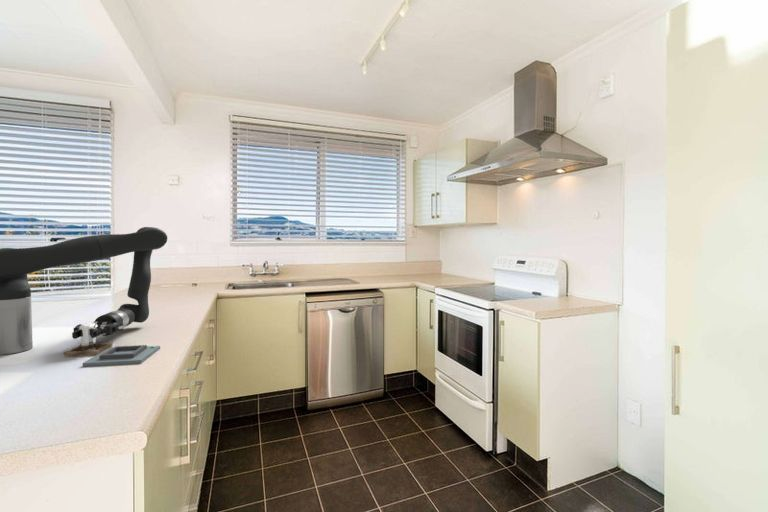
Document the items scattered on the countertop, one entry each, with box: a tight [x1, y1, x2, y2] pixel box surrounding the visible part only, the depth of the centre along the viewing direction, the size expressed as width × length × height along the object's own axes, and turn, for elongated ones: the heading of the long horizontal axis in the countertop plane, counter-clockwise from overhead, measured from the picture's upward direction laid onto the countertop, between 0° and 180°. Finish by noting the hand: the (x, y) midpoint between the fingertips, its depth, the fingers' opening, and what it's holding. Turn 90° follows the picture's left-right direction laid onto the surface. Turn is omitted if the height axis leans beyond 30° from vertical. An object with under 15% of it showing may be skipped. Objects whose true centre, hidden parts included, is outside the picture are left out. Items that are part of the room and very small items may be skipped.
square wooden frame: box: [63, 342, 113, 358], centre depth 114 cm, size 9×9×1 cm
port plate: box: [82, 344, 161, 368], centre depth 109 cm, size 15×14×2 cm
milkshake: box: [79, 322, 98, 351], centre depth 114 cm, size 4×5×10 cm
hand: (83, 335), depth 111 cm, fingers closed on milkshake, 4 cm apart
